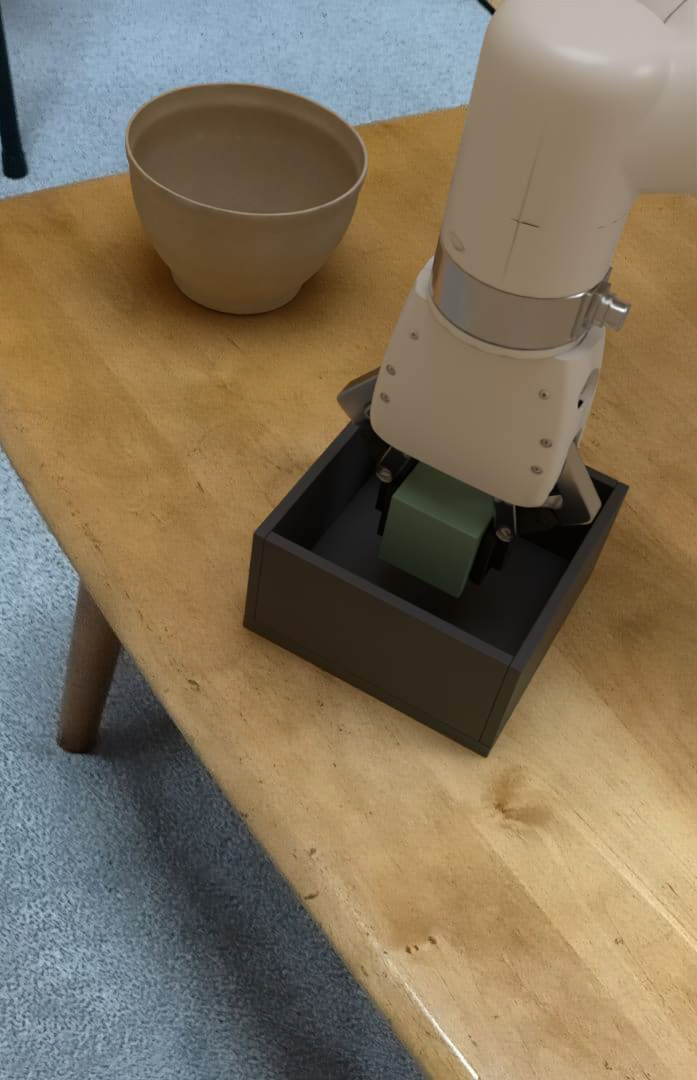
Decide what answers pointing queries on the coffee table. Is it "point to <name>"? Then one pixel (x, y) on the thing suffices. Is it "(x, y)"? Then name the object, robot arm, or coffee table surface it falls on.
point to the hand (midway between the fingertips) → (439, 542)
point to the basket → (413, 600)
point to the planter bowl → (243, 189)
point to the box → (436, 528)
